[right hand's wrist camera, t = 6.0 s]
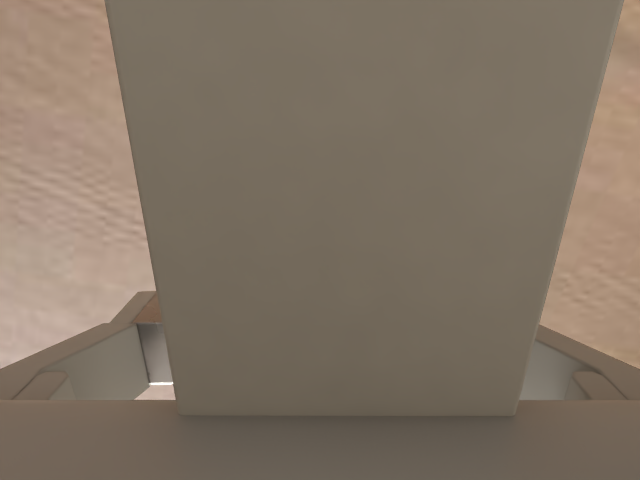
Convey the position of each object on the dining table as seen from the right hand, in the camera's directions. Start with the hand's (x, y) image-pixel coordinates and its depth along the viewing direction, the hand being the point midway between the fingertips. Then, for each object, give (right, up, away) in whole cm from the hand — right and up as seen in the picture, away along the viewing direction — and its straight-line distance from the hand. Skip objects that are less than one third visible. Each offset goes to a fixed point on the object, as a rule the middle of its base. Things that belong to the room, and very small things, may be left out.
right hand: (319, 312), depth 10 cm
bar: (0, +8, 0) cm, 8 cm away
